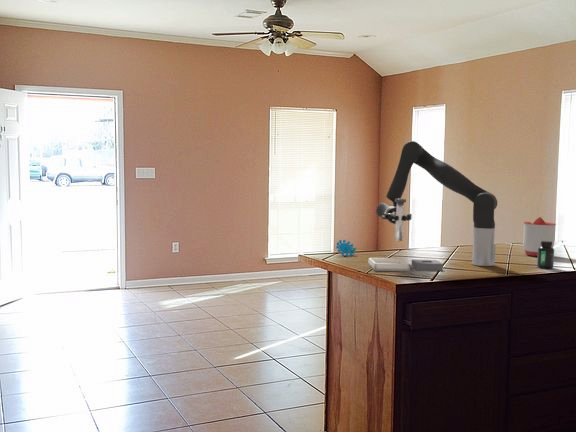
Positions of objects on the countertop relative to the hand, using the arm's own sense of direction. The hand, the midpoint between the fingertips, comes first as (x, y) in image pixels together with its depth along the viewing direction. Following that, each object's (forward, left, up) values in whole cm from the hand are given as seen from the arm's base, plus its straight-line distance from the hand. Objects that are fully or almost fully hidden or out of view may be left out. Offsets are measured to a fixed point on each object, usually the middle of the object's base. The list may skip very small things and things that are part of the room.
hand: (401, 218), depth 267 cm
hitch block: (-13, -2, -22) cm, 26 cm away
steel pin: (0, -3, -10) cm, 10 cm away
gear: (+18, -37, -22) cm, 47 cm away
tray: (+4, -2, -22) cm, 23 cm away
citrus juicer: (-83, -49, -22) cm, 99 cm away
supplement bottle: (-69, -9, -22) cm, 73 cm away
